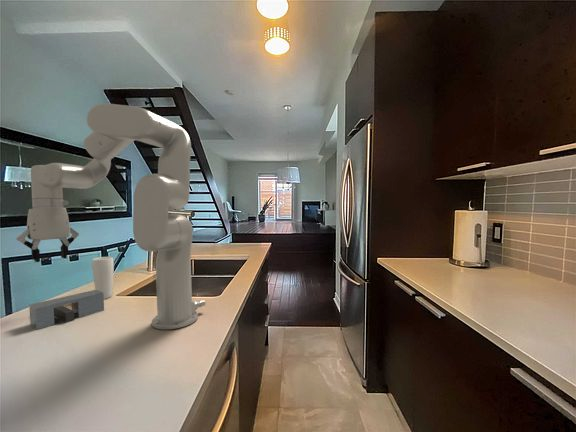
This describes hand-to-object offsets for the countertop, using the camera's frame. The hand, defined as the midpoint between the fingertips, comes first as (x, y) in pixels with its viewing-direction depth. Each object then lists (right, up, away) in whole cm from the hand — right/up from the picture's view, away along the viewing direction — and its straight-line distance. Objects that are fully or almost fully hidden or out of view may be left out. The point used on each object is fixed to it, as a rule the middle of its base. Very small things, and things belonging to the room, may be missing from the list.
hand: (50, 259), depth 90 cm
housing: (+9, -18, -3) cm, 20 cm away
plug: (+5, -18, -2) cm, 18 cm away
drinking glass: (+7, -17, +15) cm, 24 cm away
